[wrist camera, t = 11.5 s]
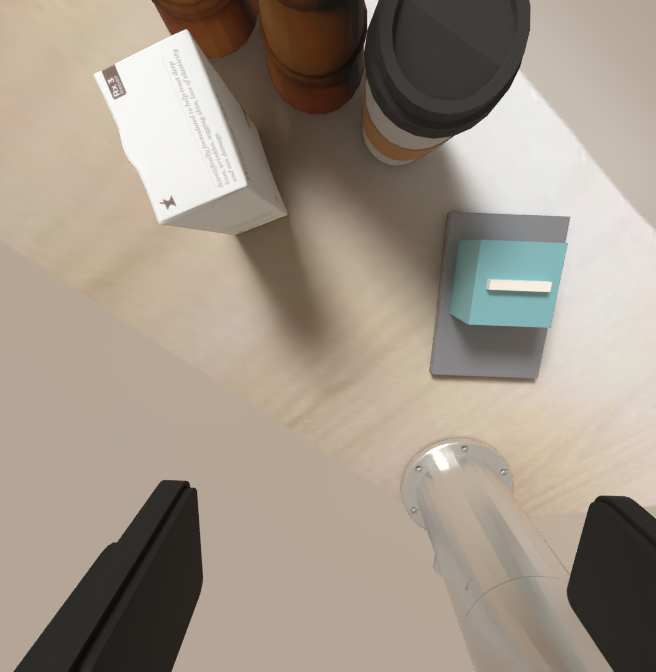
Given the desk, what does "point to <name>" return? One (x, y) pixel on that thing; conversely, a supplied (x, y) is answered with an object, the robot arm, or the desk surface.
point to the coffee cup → (437, 70)
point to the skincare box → (190, 139)
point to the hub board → (487, 340)
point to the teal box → (506, 282)
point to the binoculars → (285, 42)
